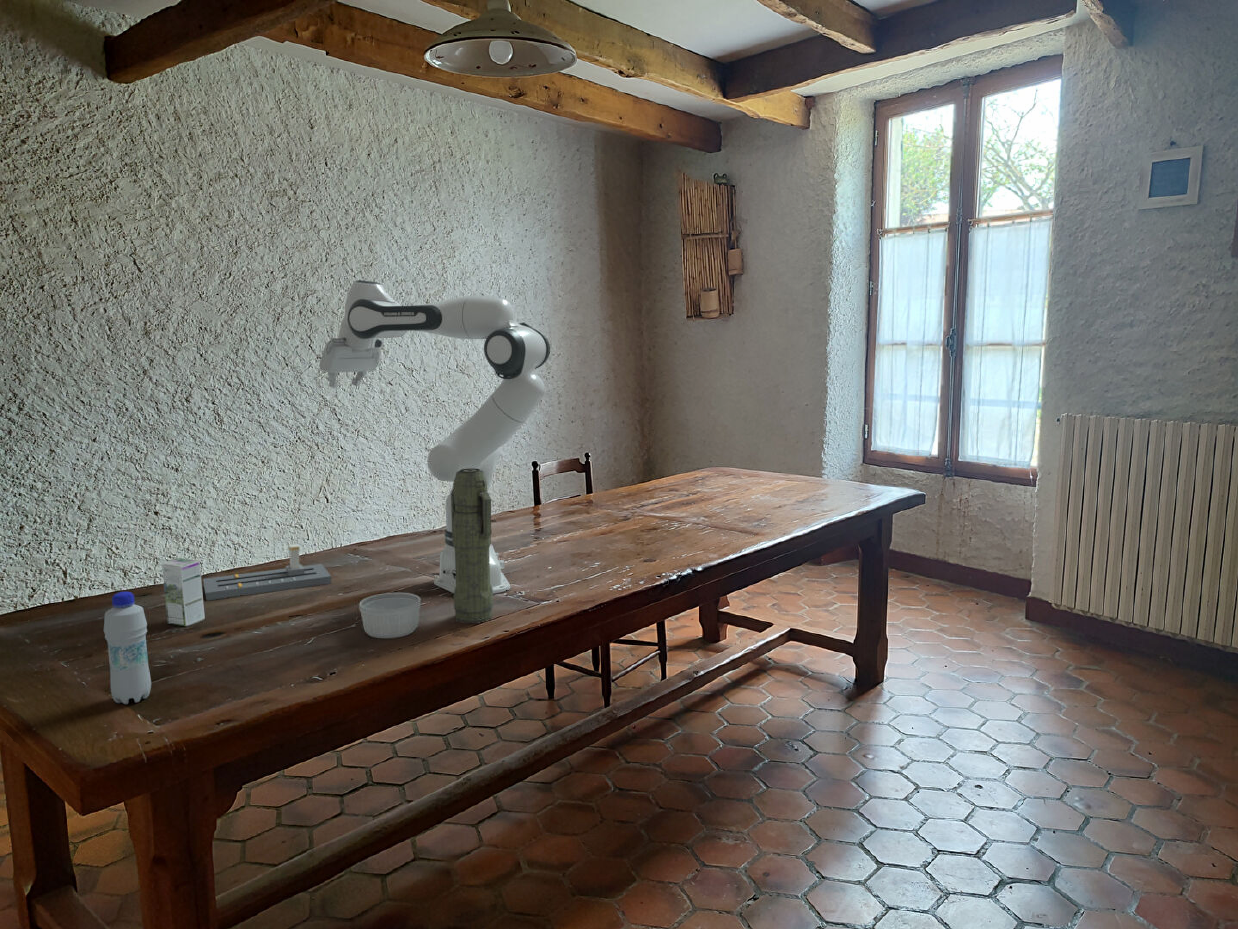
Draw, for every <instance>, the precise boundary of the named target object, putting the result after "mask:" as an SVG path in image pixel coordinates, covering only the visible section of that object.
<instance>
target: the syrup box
mask: <svg viewBox="0 0 1238 929" xmlns="http://www.w3.org/2000/svg"><path fill="white" fill-rule="evenodd" d="M200 561H201V560H200V559H197V558H195V559H194V558H186V557H185V558H184V557H178V558H174V559H170V560H168V561H165V562H163V563H161V567H162V580H163V589H164V590H163V591H164V601H165V610H166V621H167V624H169V625H174V626H182V627H188V626H190V625H191V626H192V625H194V624H196V623H200V622H201V621H203V620H205V618H206V617H205V616H206V615H205V606H204V598H203V597H204V596H203V586H202V585H203V583H202V582H203V581H202V572H201V562H200Z"/></svg>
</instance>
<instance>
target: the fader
mask: <svg viewBox="0 0 1238 929" xmlns="http://www.w3.org/2000/svg"><path fill="white" fill-rule="evenodd" d="M299 547H300V546H299V545H298V544H297V543H295V544H288V549H289V550H288V552H289V565H286V566H285V568H286V572H287V574H288V576H293V575H301V574H305V571H304V567H303V564H301V563H300V548H299Z"/></svg>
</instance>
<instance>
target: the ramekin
mask: <svg viewBox="0 0 1238 929" xmlns="http://www.w3.org/2000/svg"><path fill="white" fill-rule="evenodd" d="M421 600H422V599H421V597H420V596H418V595H417V594H414V593H408V592H386V593H380V594H374V595H371V596H368V597H366V598H363V599H361V600H360V602H359V604H358V605H359V606H358V609H359V612H360V614H361V622H362V627H363V630H364V632H365V633H366V634H367V635H368V636H370V637H373V638H377V639H396V638H401V637H405V636H408V635H410V634H412V633H413V632H414V631H415V630H416V629H417V628H418V626H419V621H420V607H421V605H422V603H421V602H422V601H421Z"/></svg>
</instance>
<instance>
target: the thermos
mask: <svg viewBox="0 0 1238 929" xmlns="http://www.w3.org/2000/svg"><path fill="white" fill-rule="evenodd" d="M452 486H453V488H454V489H453V491H452V493H451V510H452V543H453V547H454V549H455V572H456V587H455V590H454V593H453V608H454V611H455V616H454V619H455V621H456V620H457V621H456V622H458V621H459V622H458V623H460V622H463V623H462V624H465V623H477V624H479V623H478V622H483V621H486V620H488V619H491V618H492V619H493V617H492V616H494V615H493V608H494V594H493V589H492V586H491V584H490V556H489V547H490V545H492V534H493V532H492V499H491V496H490V492H489V493H487V481H486V478H485V475H484V472H483V471H481V470H480V469H474V468H469V469H461V470H460V471H458V472H457V473H456V476H455V479H454V483H453V482H452ZM492 619H491V620H492ZM486 622H487V621H486ZM483 623H484V622H483Z"/></svg>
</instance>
